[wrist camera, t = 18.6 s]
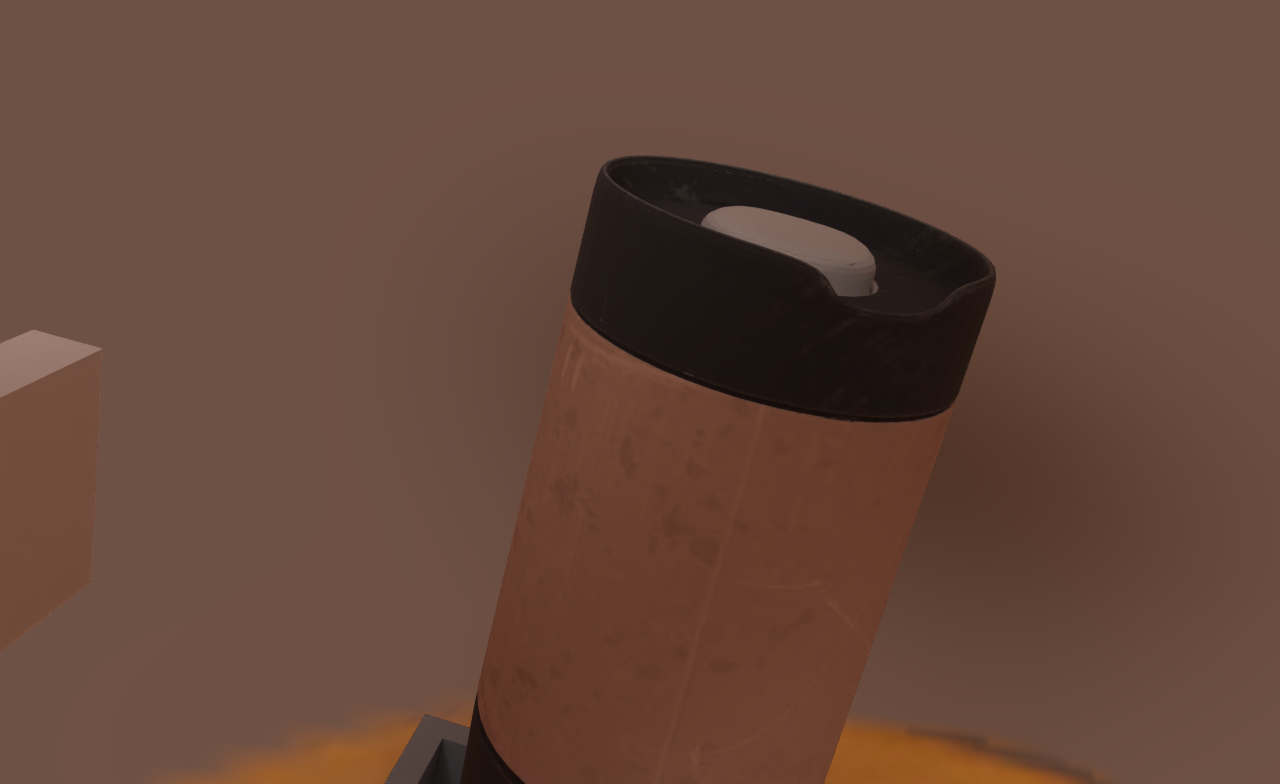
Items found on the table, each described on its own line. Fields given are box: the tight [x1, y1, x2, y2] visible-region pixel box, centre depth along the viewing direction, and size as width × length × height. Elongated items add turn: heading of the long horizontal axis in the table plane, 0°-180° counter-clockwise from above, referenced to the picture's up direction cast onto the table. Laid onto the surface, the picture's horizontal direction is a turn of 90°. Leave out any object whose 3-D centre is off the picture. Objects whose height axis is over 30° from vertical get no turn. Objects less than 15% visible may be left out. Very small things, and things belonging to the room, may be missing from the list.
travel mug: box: [460, 156, 996, 784], centre depth 25 cm, size 8×8×20 cm
